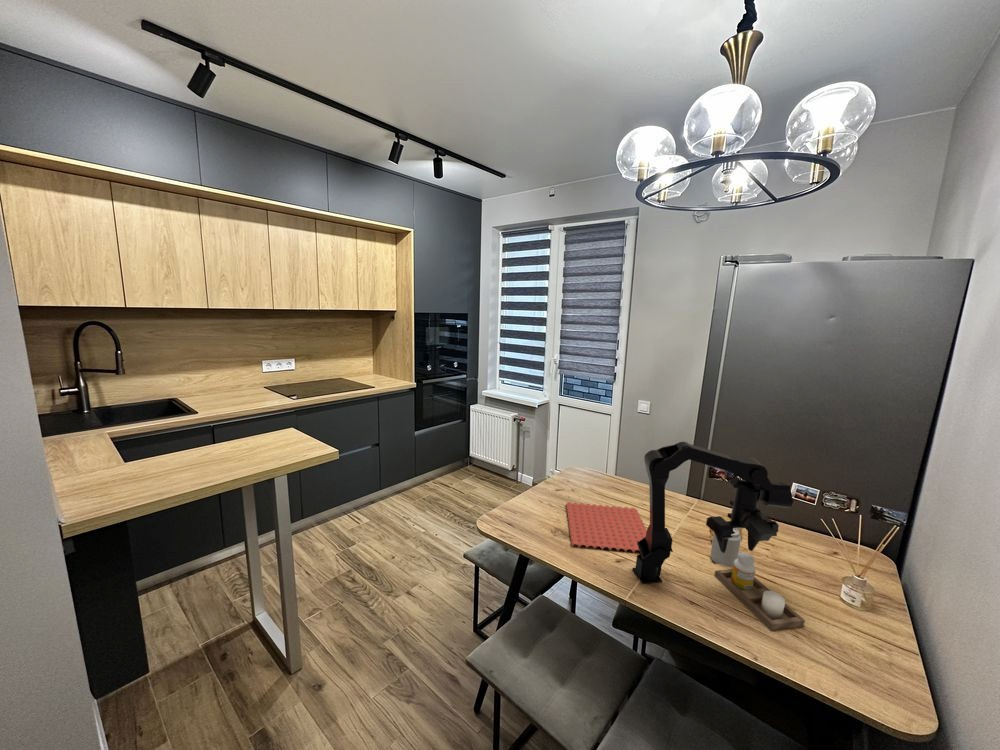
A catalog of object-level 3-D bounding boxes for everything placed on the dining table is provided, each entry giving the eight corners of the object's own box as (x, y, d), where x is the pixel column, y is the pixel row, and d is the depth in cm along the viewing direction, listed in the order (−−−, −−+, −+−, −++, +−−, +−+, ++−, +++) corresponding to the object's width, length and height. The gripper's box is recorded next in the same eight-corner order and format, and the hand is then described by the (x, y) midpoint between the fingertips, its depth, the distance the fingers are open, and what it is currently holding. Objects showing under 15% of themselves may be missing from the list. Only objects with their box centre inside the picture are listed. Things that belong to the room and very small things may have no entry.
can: (723, 571, 120) (728, 537, 118) (704, 556, 128) (709, 523, 125) (741, 567, 122) (747, 534, 120) (722, 553, 130) (728, 520, 127)
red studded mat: (635, 512, 154) (636, 507, 154) (656, 557, 127) (657, 551, 127) (565, 506, 157) (566, 502, 157) (571, 549, 130) (571, 543, 129)
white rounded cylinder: (771, 621, 100) (774, 605, 99) (756, 607, 105) (758, 591, 104) (786, 619, 101) (790, 603, 100) (771, 605, 105) (774, 589, 104)
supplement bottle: (732, 576, 116) (737, 548, 114) (753, 585, 113) (758, 556, 111) (728, 586, 112) (733, 556, 110) (750, 595, 109) (755, 565, 107)
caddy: (769, 634, 97) (771, 624, 97) (713, 579, 117) (715, 570, 116) (802, 630, 99) (805, 620, 98) (742, 576, 118) (743, 567, 118)
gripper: (739, 519, 99) (729, 572, 102) (799, 516, 102) (788, 567, 105) (709, 497, 110) (700, 546, 113) (764, 495, 113) (755, 542, 116)
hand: (736, 551), depth 111 cm, fingers open, 9 cm apart
